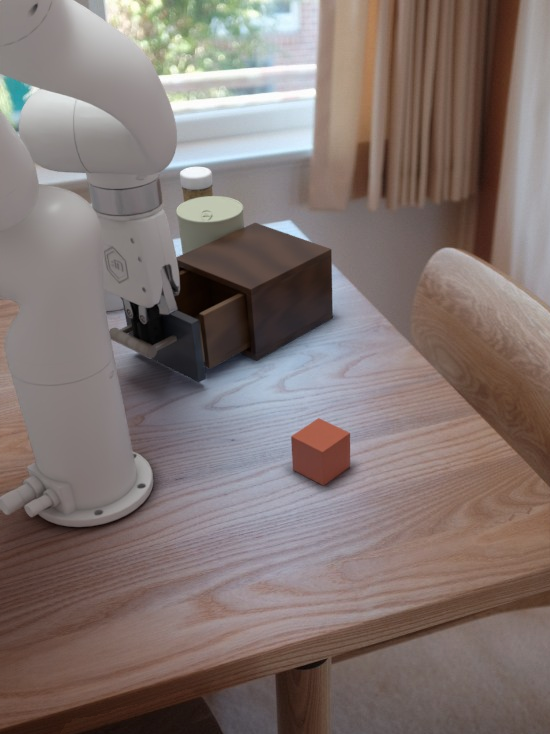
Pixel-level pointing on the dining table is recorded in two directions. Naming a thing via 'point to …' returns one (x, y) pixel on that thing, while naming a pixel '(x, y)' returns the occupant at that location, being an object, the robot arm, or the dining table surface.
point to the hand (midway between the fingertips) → (150, 346)
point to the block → (321, 451)
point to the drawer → (196, 328)
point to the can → (208, 220)
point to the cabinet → (270, 282)
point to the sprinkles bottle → (196, 182)
